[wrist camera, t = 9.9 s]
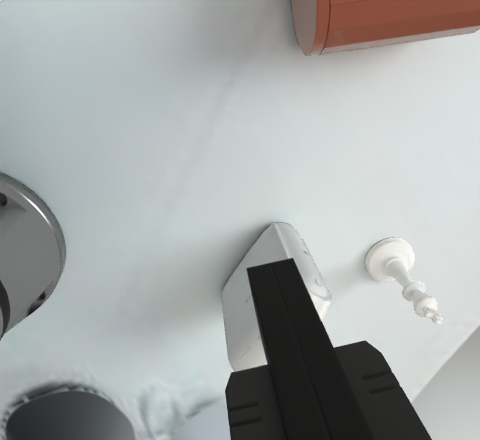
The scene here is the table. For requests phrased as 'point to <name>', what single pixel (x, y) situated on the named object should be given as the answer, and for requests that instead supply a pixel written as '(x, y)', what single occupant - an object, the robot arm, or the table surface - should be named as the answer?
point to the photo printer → (240, 297)
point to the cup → (378, 22)
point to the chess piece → (401, 274)
